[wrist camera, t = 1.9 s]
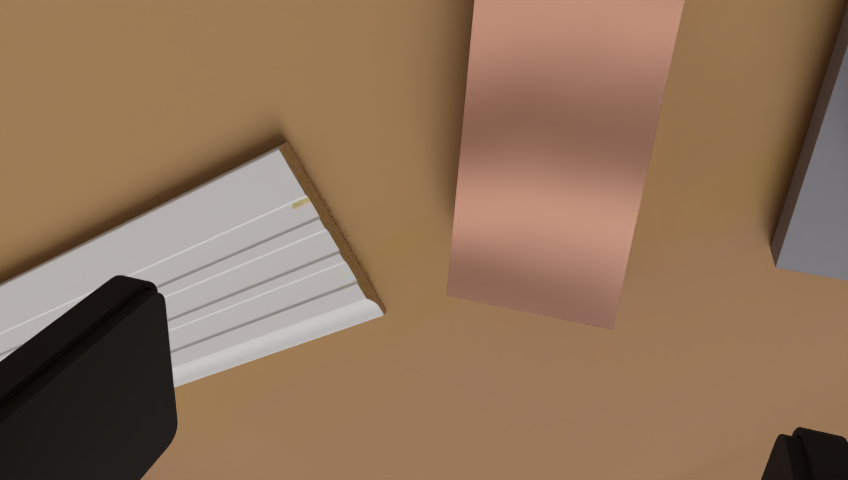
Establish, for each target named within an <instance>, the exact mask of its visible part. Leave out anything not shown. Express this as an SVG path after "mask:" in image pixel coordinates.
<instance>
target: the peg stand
mask: <svg viewBox="0 0 848 480" xmlns="http://www.w3.org/2000/svg"><path fill="white" fill-rule="evenodd" d="M770 250H771V253H772V257H773V260H774V264H775V267H776V268H782V269H787V270H793V271H798V272H804V273H809V274H815V275H820V276H826V277H832V278H837V279H843V280H848V4H847V7H846V10H845V14H844V17H843V20H842V23H841V26H840V29H839V33H838V36H837V39H836V42H835V45H834V48H833V52H832V55H831V58H830V61H829V64H828V67H827V70H826V74H825V77H824V80H823V83H822V86H821V89H820V93H819V96H818V99H817V102H816V105H815V108H814V111H813V115H812V118H811V121H810V124H809V127H808V130H807V134H806V137H805V140H804V143H803V146H802V149H801V152H800V156H799V159H798V162H797V165H796V168H795V171H794V175H793V178H792V181H791V184H790V187H789V190H788V194H787V197H786V200H785V203H784V206H783V209H782V212H781V216H780V219H779V222H778V225H777V228H776V231H775V235H774V238H773V241H772V244H771V247H770Z"/></svg>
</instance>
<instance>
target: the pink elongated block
mask: <svg viewBox="0 0 848 480" xmlns="http://www.w3.org/2000/svg"><path fill="white" fill-rule="evenodd" d="M684 1H685V0H474V11H473V21H472V32H471V42H470V53H469V63H468V74H467V84H466V95H465V106H464V116H463V127H462V137H461V148H460V158H459V169H458V179H457V190H456V200H455V211H454V221H453V232H452V243H451V253H450V264H449V274H448V285H447V295H446V296H450V297H455V298H460V299H465V300H470V301H475V302H479V303H484V304H489V305H494V306H499V307H504V308H509V309H514V310H519V311H524V312H529V313H533V314H538V315H543V316H548V317H553V318H558V319H563V320H568V321H573V322H578V323H583V324H588V325H592V326H597V327H602V328H607V329H612V330H613V326H614V321H615V317H616V312H617V308H618V303H619V298H620V294H621V289H622V285H623V280H624V276H625V271H626V266H627V262H628V257H629V253H630V248H631V243H632V239H633V234H634V230H635V225H636V221H637V216H638V211H639V207H640V202H641V198H642V193H643V188H644V184H645V179H646V175H647V170H648V166H649V161H650V156H651V152H652V147H653V143H654V138H655V133H656V129H657V124H658V120H659V115H660V111H661V106H662V101H663V97H664V92H665V88H666V83H667V78H668V74H669V69H670V65H671V60H672V56H673V51H674V46H675V42H676V37H677V33H678V28H679V23H680V19H681V14H682V10H683V5H684Z"/></svg>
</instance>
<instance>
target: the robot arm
mask: <svg viewBox="0 0 848 480" xmlns="http://www.w3.org/2000/svg"><path fill="white" fill-rule="evenodd" d="M176 430H177V412H176V402H175V392H174V382H173V372H172V362H171V352H170V342H169V332H168V322H167V312H166V302H165V298H164V296H163V294H161V293H158V290H157V287H156V286H155V284H154V283H152V282H150V281H146V280H141V279H137V278H132V277H128V276H124V275H116V276H114V277H112V278H111V279H109V280H108V281H107V282H105V283H104V284H103V285H101V286H100V287H99V288H97V289H96V290H95V291H93V292H92V293H91V294H89V295H88V296H87V297H85V298H84V299H83V300H81V301H80V302H79V303H78V304H76V305H75V306H74V307H72V308H71V309H70V310H68V311H67V312H66V313H64V314H63V315H62V316H60V317H59V318H58V319H56V320H55V321H54V322H52V323H51V324H50V325H48V326H47V327H46V328H44V329H43V330H42V331H40V332H39V333H38V334H36V335H35V336H34V337H32V338H31V339H30V340H28V341H27V342H26V343H24V344H23V345H22V346H20V347H19V348H18V349H16V350H15V351H14V352H12V353H11V354H10V355H8V356H7V357H6V358H4V359H3V360H2V361H0V480H140V479H141V478H142V477H143V476H144V475H145V473H146V472H147V471H148V470H149V469H150V467H151V466H152V465H153V464H154V463H155V462H156V460H157V459H158V458H159V457H160V456H161V455H162V453H163V452H164V451H165V450H166V449H167V447H168V446H169V445H170V444H171V442H172V440H173V438H174V436H175V433H176ZM761 480H848V442H847V440H846V439H845V438H844V437H842V436H838V435H833V434H829V433H824V432H820V431H815V430H811V429H806V428H802V427H799V428H796V430H795V431H794V432H793V434H792V436H788V435H784V434H780V435H779V436H778V437H777V439H776V441H775V444H774V446H773V449H772V452H771V455H770V457H769V460H768V463H767V465H766V468H765V471H764V473H763V476H762V479H761Z"/></svg>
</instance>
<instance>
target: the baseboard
mask: <svg viewBox="0 0 848 480" xmlns="http://www.w3.org/2000/svg"><path fill="white" fill-rule="evenodd" d="M116 275H124V276H128V277H132V278H137V279H141V280H146V281H150V282H152V283H154V284H155V286H156V287H157V290H158V293H161V294H163V296H164V298H165V302H166V312H167V322H168V332H169V342H170V352H171V362H172V372H173V382H174V387H177V386H180V385H183V384H185V383H188V382H191V381H194V380H197V379H200V378H203V377H206V376H209V375H212V374H214V373H217V372H220V371H223V370H226V369H229V368H232V367H235V366H238V365H241V364H243V363H246V362H249V361H252V360H255V359H258V358H261V357H264V356H267V355H270V354H273V353H275V352H278V351H281V350H284V349H287V348H290V347H293V346H296V345H299V344H302V343H304V342H307V341H310V340H313V339H316V338H319V337H322V336H325V335H328V334H331V333H333V332H336V331H339V330H342V329H345V328H348V327H351V326H354V325H357V324H360V323H362V322H365V321H368V320H371V319H374V318H377V317H380V316H383V315H385V313H386V310H385V308H384V307H383V305H382V303H381V302H380V300H379V298H378V296H377V295H376V293H375V291H374V290H373V288H372V286H371V284H370V283H369V281H368V279H367V278H366V276H365V274H364V272H363V271H362V269H361V267H360V265H359V264H358V262H357V260H356V259H355V257H354V255H353V253H352V252H351V250H350V248H349V247H348V245H347V243H346V241H345V240H344V238H343V236H342V235H341V233H340V231H339V229H338V228H337V226H336V224H335V223H334V221H333V219H332V217H331V216H330V214H329V212H328V211H327V209H326V207H325V205H324V204H323V202H322V200H321V199H320V197H319V195H318V193H317V192H316V190H315V188H314V187H313V185H312V183H311V181H310V180H309V178H308V176H307V175H306V173H305V171H304V169H303V168H302V166H301V164H300V163H299V161H298V159H297V157H296V156H295V154H294V152H293V151H292V149H291V147H290V145H289V144H288V142H286V143H284V144H282V145H280V146H278V147H276V148H274V149H272V150H270V151H268V152H266V153H264V154H262V155H260V156H258V157H256V158H254V159H252V160H250V161H248V162H246V163H244V164H242V165H240V166H238V167H236V168H234V169H232V170H230V171H227V172H225V173H223V174H221V175H219V176H217V177H215V178H213V179H211V180H209V181H207V182H205V183H203V184H201V185H199V186H197V187H195V188H193V189H191V190H189V191H187V192H185V193H183V194H181V195H179V196H177V197H175V198H173V199H171V200H169V201H167V202H165V203H163V204H161V205H159V206H157V207H155V208H153V209H151V210H149V211H147V212H145V213H142V214H140V215H138V216H136V217H134V218H132V219H130V220H128V221H126V222H124V223H122V224H120V225H118V226H116V227H114V228H112V229H110V230H108V231H106V232H104V233H102V234H100V235H98V236H96V237H94V238H92V239H90V240H88V241H86V242H84V243H82V244H80V245H78V246H76V247H74V248H72V249H70V250H68V251H66V252H64V253H62V254H60V255H57V256H55V257H53V258H51V259H49V260H47V261H45V262H43V263H41V264H39V265H37V266H35V267H33V268H31V269H29V270H27V271H25V272H23V273H21V274H19V275H17V276H15V277H13V278H11V279H9V280H7V281H5V282H3V283H1V284H0V361H2V360H3V359H4V358H6V357H7V356H8V355H10V354H11V353H12V352H14V351H15V350H16V349H18V348H19V347H20V346H22V345H23V344H24V343H26V342H27V341H28V340H30V339H31V338H32V337H34V336H35V335H36V334H38V333H39V332H40V331H42V330H43V329H44V328H46V327H47V326H48V325H50V324H51V323H52V322H54V321H55V320H56V319H58V318H59V317H60V316H62V315H63V314H64V313H66V312H67V311H68V310H70V309H71V308H72V307H74V306H75V305H76V304H78V303H79V302H80V301H81V300H83V299H84V298H85V297H87V296H88V295H89V294H91V293H92V292H93V291H95V290H96V289H97V288H99V287H100V286H101V285H103V284H104V283H105V282H107V281H108V280H109V279H111V278H112V277H114V276H116Z"/></svg>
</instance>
